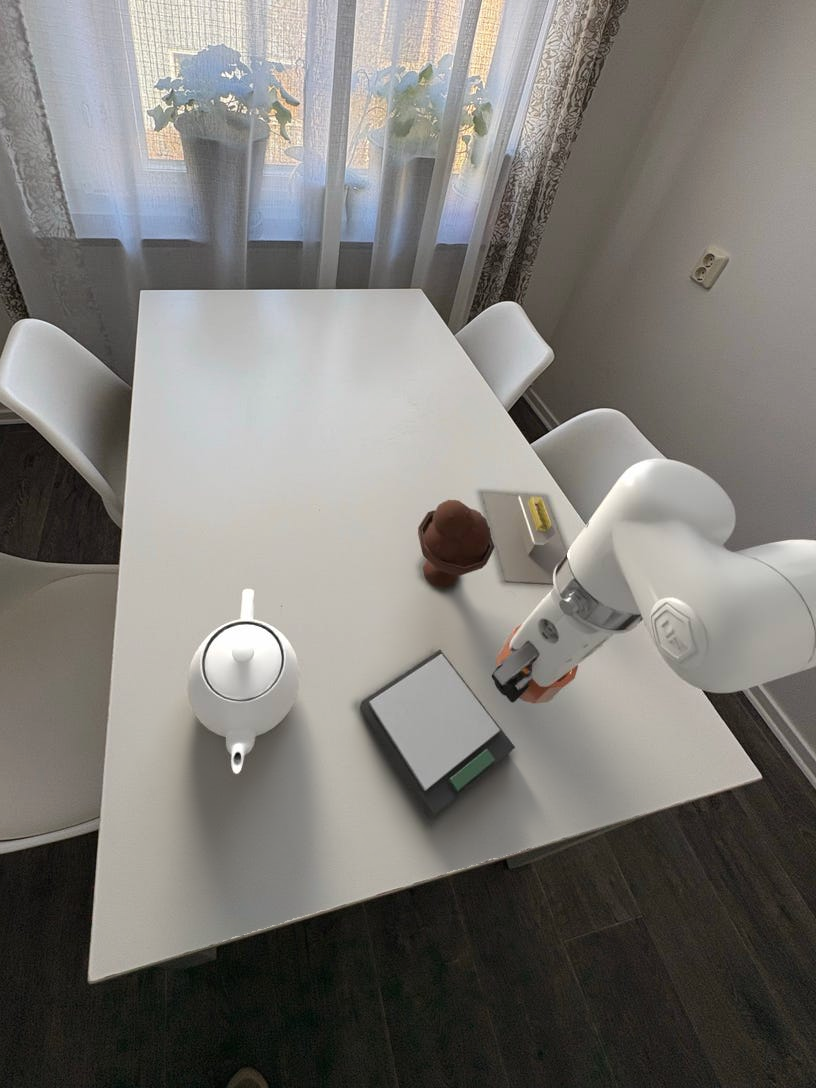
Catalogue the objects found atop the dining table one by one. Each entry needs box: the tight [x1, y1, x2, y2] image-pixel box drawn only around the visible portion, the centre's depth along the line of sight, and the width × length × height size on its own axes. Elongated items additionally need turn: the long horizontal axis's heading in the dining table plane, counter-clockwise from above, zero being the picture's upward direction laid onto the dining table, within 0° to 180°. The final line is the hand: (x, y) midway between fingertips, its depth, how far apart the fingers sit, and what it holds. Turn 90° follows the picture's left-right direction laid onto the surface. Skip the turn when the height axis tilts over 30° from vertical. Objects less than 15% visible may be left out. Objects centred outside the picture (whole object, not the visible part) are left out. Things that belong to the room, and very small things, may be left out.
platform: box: [482, 492, 567, 585], centre depth 88 cm, size 12×18×7 cm, turn 1°
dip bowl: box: [496, 623, 579, 705], centre depth 56 cm, size 7×7×5 cm
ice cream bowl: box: [417, 499, 495, 589], centre depth 78 cm, size 11×11×15 cm
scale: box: [359, 649, 516, 820], centre depth 65 cm, size 14×13×3 cm
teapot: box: [186, 588, 301, 775], centre depth 63 cm, size 22×14×11 cm, turn 4°
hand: (529, 669), depth 57 cm, fingers closed on dip bowl, 7 cm apart
